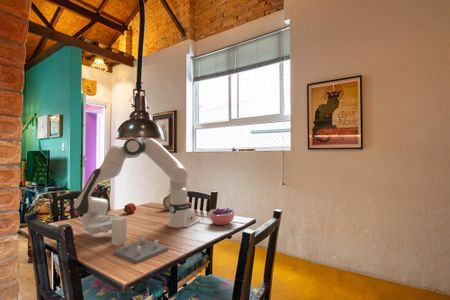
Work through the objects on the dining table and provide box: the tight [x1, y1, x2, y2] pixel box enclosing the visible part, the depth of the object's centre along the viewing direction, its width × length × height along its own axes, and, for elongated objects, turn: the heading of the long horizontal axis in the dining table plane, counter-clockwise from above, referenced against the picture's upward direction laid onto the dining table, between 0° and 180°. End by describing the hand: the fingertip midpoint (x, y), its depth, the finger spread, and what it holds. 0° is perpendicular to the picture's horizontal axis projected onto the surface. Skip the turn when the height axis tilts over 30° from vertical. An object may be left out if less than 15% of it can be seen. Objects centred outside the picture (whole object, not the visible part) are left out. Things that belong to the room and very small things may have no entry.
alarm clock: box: [162, 189, 170, 211], centre depth 204 cm, size 11×5×16 cm, turn 105°
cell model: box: [208, 207, 235, 226], centre depth 166 cm, size 17×20×11 cm
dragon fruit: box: [123, 203, 137, 215], centre depth 193 cm, size 8×8×12 cm
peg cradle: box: [112, 235, 169, 264], centre depth 119 cm, size 18×18×5 cm
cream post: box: [111, 216, 127, 247], centre depth 129 cm, size 5×5×13 cm
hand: (115, 228), depth 132 cm, fingers open, 8 cm apart
